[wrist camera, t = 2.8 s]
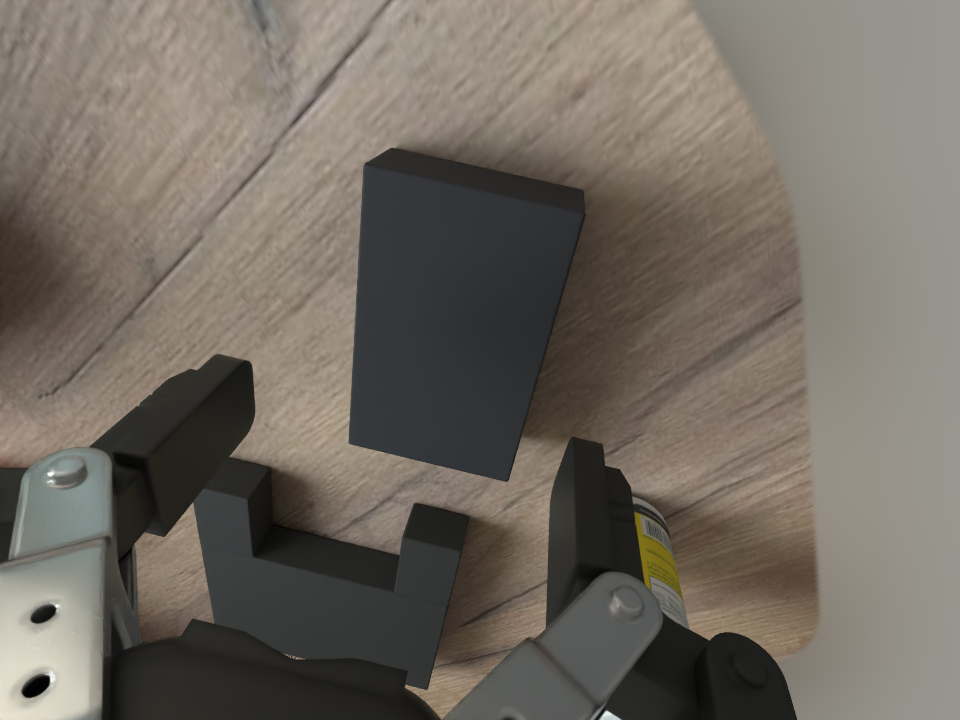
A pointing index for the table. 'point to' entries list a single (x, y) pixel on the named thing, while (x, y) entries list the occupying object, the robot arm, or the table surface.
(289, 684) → the robot arm
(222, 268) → the table surface
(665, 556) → the supplement bottle
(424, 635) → the black pad
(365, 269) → the charcoal pad
